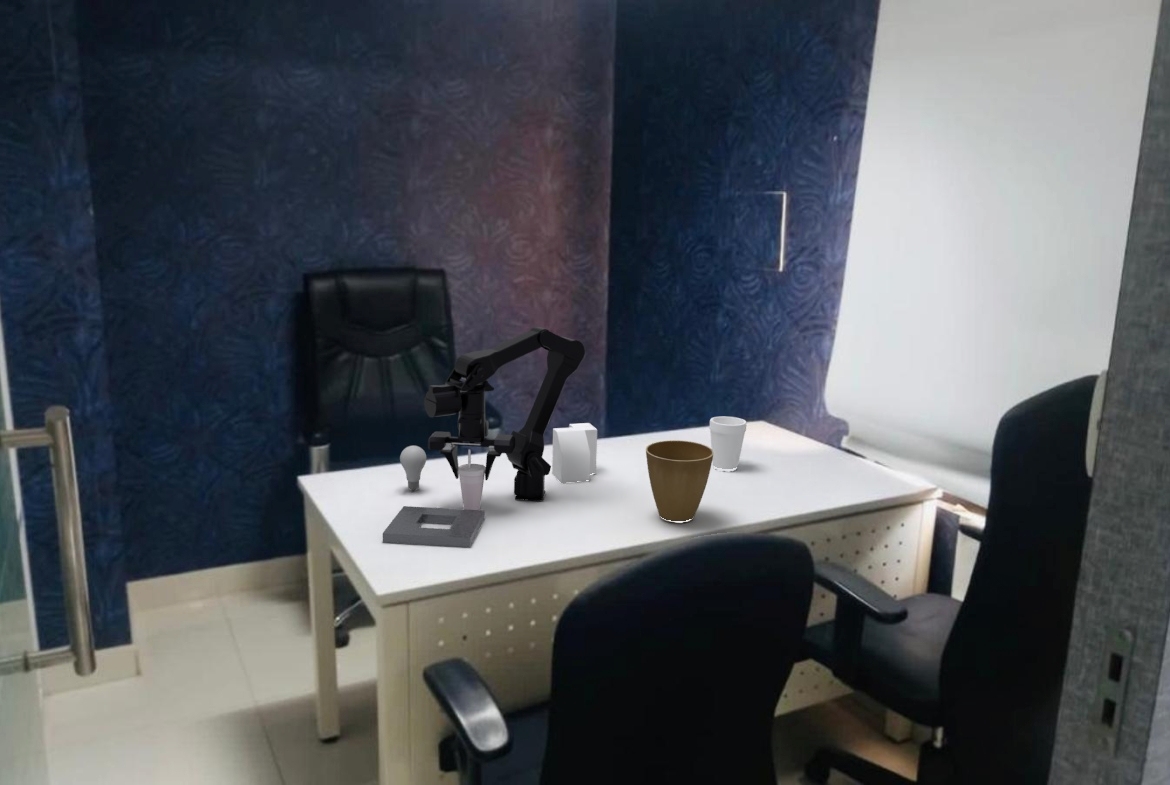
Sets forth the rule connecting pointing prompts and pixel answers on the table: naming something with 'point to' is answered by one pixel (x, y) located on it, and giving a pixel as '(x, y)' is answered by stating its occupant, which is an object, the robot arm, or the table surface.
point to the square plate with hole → (458, 535)
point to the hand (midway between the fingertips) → (472, 479)
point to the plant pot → (678, 476)
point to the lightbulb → (413, 465)
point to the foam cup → (726, 440)
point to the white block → (574, 452)
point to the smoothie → (471, 483)
